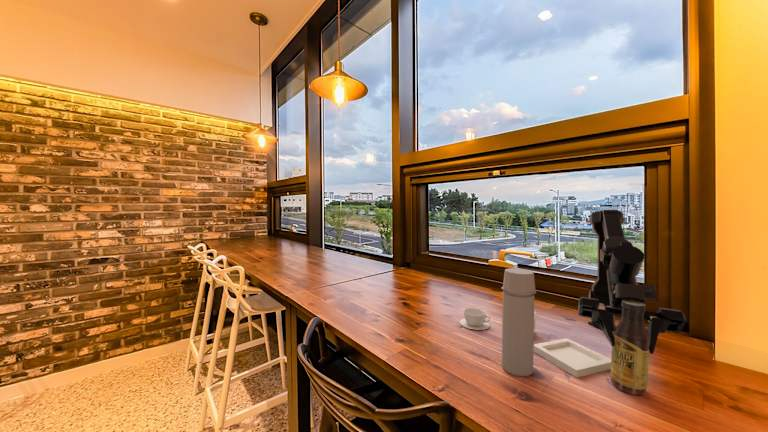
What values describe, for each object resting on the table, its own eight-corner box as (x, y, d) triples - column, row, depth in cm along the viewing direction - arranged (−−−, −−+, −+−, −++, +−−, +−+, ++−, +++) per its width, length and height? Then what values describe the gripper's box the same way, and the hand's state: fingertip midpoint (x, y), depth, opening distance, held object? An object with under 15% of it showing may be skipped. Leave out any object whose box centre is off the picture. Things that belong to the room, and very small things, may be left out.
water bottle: (533, 382, 64) (535, 276, 64) (497, 372, 69) (499, 272, 68) (536, 364, 72) (537, 268, 71) (503, 355, 76) (505, 265, 76)
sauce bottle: (603, 380, 66) (605, 297, 65) (627, 378, 66) (629, 296, 65) (630, 399, 59) (632, 306, 58) (657, 397, 60) (659, 305, 59)
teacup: (458, 328, 94) (458, 314, 94) (461, 317, 103) (461, 305, 103) (489, 333, 90) (490, 319, 90) (490, 321, 100) (490, 308, 99)
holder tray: (566, 344, 83) (567, 338, 83) (614, 368, 70) (614, 361, 70) (532, 350, 79) (532, 344, 79) (576, 377, 66) (576, 370, 66)
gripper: (579, 264, 70) (582, 323, 61) (684, 274, 60) (706, 345, 51) (577, 288, 77) (579, 343, 68) (670, 299, 67) (687, 366, 58)
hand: (631, 349), depth 61 cm, fingers closed on sauce bottle, 6 cm apart
